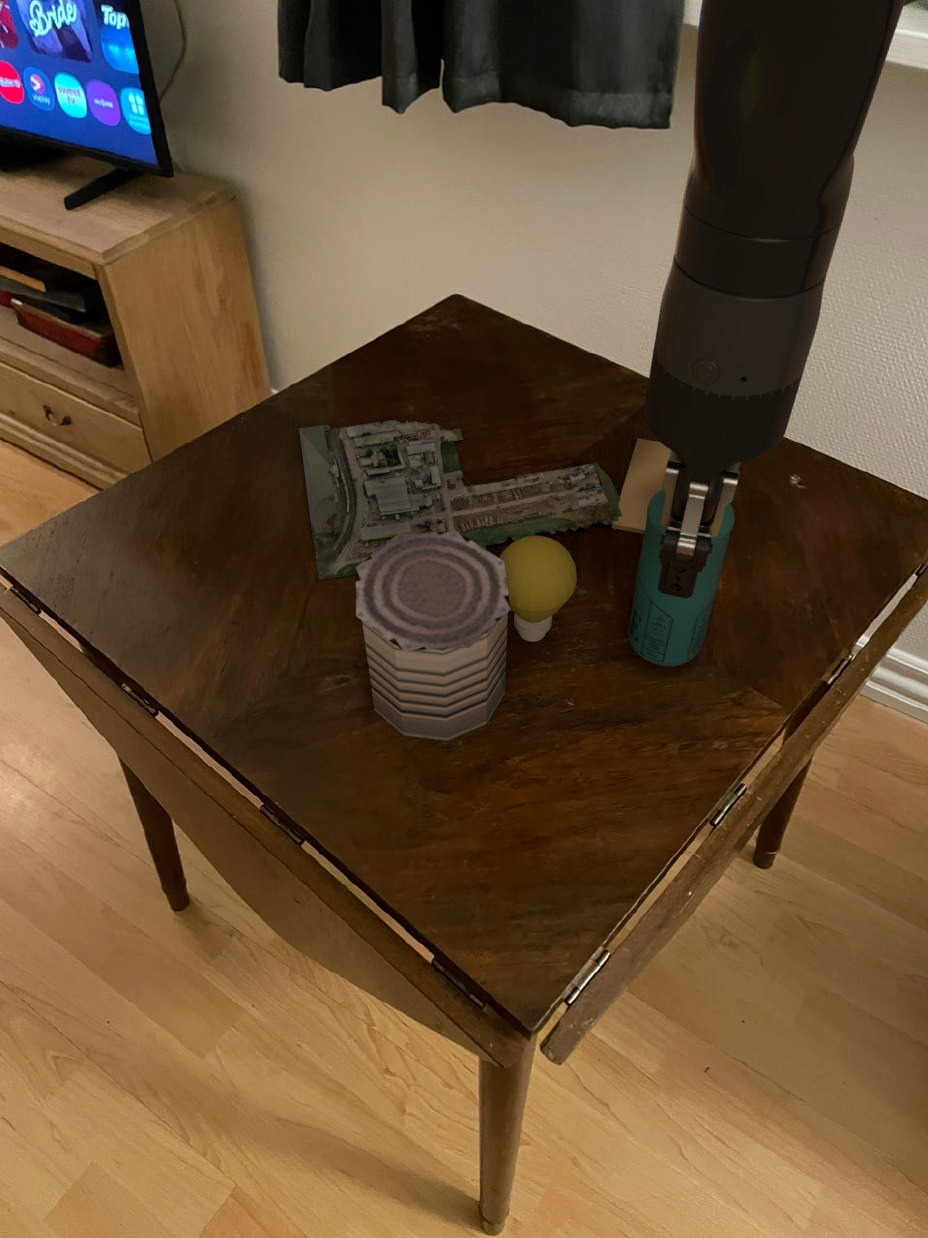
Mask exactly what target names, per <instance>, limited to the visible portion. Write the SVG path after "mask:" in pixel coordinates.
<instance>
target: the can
mask: <svg viewBox="0 0 928 1238" xmlns="http://www.w3.org/2000/svg"><path fill="white" fill-rule="evenodd" d="M499 558H500V557H498V556H496V555H495V554H493V553H491V552H490V551H488V549H487V550H485V549H484V548H482V547H481V546H479V545H478V544H476V543H475V542H473V541H471V540H470V539H468V538H467V537H465V536H464V535H462V534H461V533H459V532H434V533H408V534H397V535H396V536H395V537H393V538H392V539H391V540H390V541H388V542H387V543H386V544H385V545H383V546H382V547H381V548H380V549H378V550H377V551H376V552H375V553H373V554H372V555H371V556H370V557H368V558H367V559H366V560H365V561H363V562H362V563H361V564H360V565H358V566H357V567H356V574H355V616H356V617H357V618H358V619H360V620H361V623H362V630H363V637H364V638H363V639H364V644H365V651H366V652H365V653H366V658H367V665H368V666H367V667H368V673H369V679H370V680H369V681H370V687H371V695H372V702H373V709H374V712H375V713H376V714H377V715H379V716H380V717H381V718H382V719H383V720H385V721H386V722H387V723H388V724H389V725H390V726H391V727H393V728H394V729H395V730H396V731H398V732H399V733H400V734H401V735H402V736H404V737H411V738H419V739H427V740H436V741H443V742H449V741H451V740H453V739H456V738H458V737H460V736H463V735H465V734H468V733H470V732H472V731H475V730H477V729H479V728H481V727H483V726H486V725H488V723H489V721H490V720H491V717H492V716H493V714H494V713H495V711H496V709H497V708H498V706H499V705H500V703H501V701H502V699H503V698H504V697H505V695H506V677H507V651H508V650H507V646H508V619H509V618H508V617H509V614H508V613H509V612H510V611H511V608H510V601H509V594H508V587H507V579H506V572H505V565H504V561H502V560H501V559H499Z"/></svg>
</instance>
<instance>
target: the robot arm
mask: <svg viewBox="0 0 928 1238" xmlns="http://www.w3.org/2000/svg"><path fill="white" fill-rule="evenodd" d="M917 1H919V0H701V7H700V13H699V21H698V31H697V41H696V54H695V72H694V93H693V95H694V96H693V132H692V133H693V152H692V157H691V160H690V161H691V162H690V166H689V170H688V174H687V179H686V183H685V188H684V193H683V199H682V204H681V209H680V217H679V222H678V227H677V235H676V241H675V247H674V252H673V253H674V254H673V258H672V262H671V267H670V270H669V273H668V276H667V279H666V282H665V285H664V289H663V293H662V296H661V300H660V306H659V313H658V320H657V326H656V327H657V328H656V333H655V340H654V344H653V349H652V350H653V351H652V356H651V364H650V369H649V376H648V383H647V388H646V395H645V400H644V407H643V409H644V410H643V417H644V421H645V425H646V426H647V428H648V430H649V432H650V433H651V435H652V436H653V437H654V438H655V439H656V440H657V442H660V443H662V444H663V445H664V446H666V447H667V448H669V449H671V452H670V458H669V459H668V461H667V466H666V470H665V475H664V480H663V486H662V489H663V491H664V492H665V499H664V505H663V510H662V515H661V520H660V524H661V526H662V527H663V528H665V529H666V532H665V535H662V537H661V542H660V544H662V550H660V554H659V558H661V560H660V565H662V569H661V574H660V579H659V584H658V590H659V592H661V593H663V594H667V595H671V596H676V597H681V598H689V597H691V596H692V595H693V591H694V587H695V583H696V579H697V575H698V572H702V570H703V567H705V566H706V562H707V557H708V553H710V554H711V552H712V548H713V544H711V539H712V538H713V537H716V536H718V535H719V533H720V529H721V525H722V522H723V518H724V514H725V510H726V506H727V505H728V504H729V503H730V504H731V503H732V502H733V501H734V498H735V494H736V491H737V486H738V482H739V477H740V471H739V470H740V465H741V463H744V462H749V461H753V460H756V459H758V458H761V457H764V456H765V455H767V454H768V453H770V452H771V451H773V450H774V449H775V448H776V447H777V446H778V445H779V444H780V443H781V442H782V440H783V439H784V437H785V434H786V432H787V428H788V425H789V422H790V419H791V416H792V412H793V409H794V405H795V403H796V402H795V401H796V398H797V395H798V392H799V389H800V385H801V383H802V382H801V381H802V379H803V375H804V371H805V369H806V365H807V361H808V357H809V355H810V352H811V348H812V344H813V341H814V338H815V334H816V331H817V327H818V324H819V320H820V314H821V310H822V304H823V296H824V288H825V282H826V278H827V274H828V272H829V268H830V265H831V262H832V258H833V254H834V251H835V248H836V245H837V241H838V237H839V234H840V231H841V228H842V224H843V221H844V216H845V212H846V210H847V204H848V201H849V197H850V193H851V189H852V183H853V176H854V169H855V155H854V154H855V151H856V148H857V146H858V142H859V139H860V137H861V134H862V131H863V129H864V125H865V123H866V119H867V116H868V114H869V110H870V108H871V104H872V101H873V99H874V96H875V94H876V90H877V87H878V84H879V80H880V77H881V75H882V71H883V69H884V67H885V62H886V59H887V58H888V57H887V56H888V53H889V51H890V47H891V44H892V42H893V38H894V36H895V33H896V31H897V30H896V29H897V27H898V23H899V20H900V17H901V15H902V11H903V9H904V7H905V6H908V5H910V4H913V3H915V2H917Z"/></svg>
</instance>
